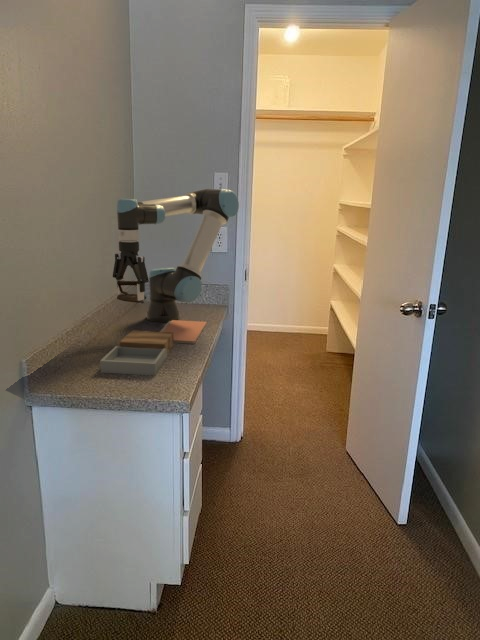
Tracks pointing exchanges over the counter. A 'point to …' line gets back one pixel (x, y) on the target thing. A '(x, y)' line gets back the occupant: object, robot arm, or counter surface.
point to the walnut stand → (148, 340)
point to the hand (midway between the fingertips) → (131, 298)
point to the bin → (133, 360)
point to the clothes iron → (125, 295)
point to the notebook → (184, 330)
